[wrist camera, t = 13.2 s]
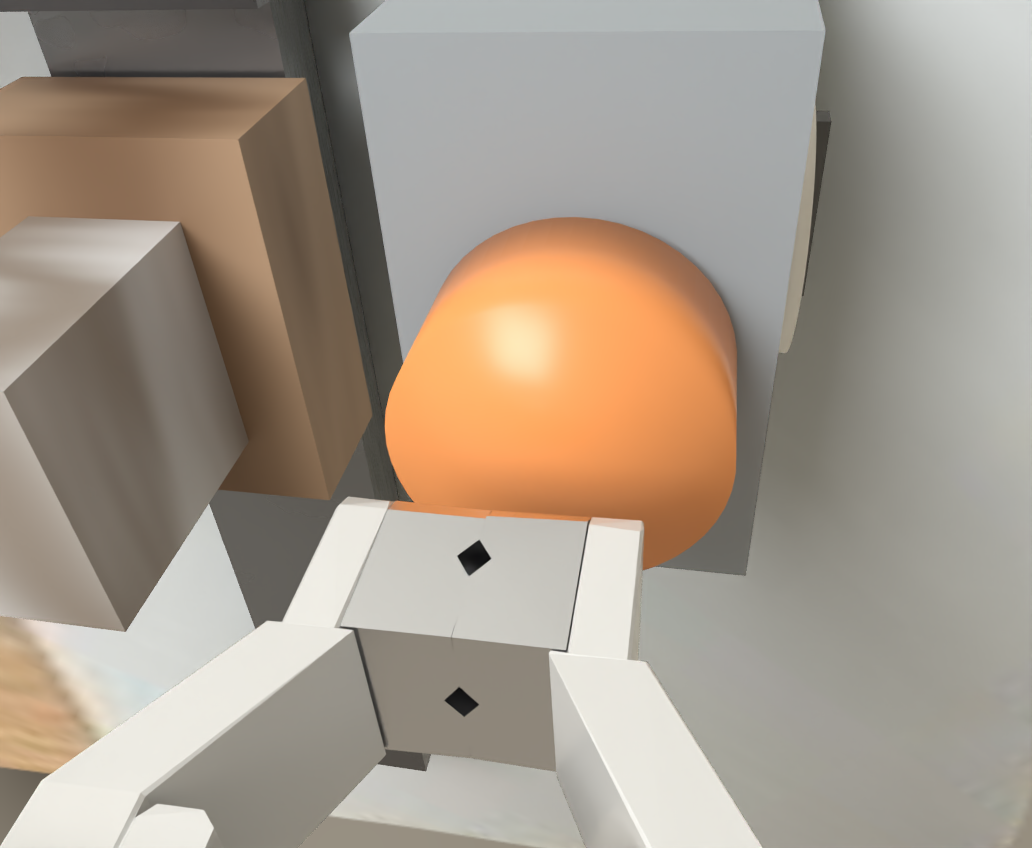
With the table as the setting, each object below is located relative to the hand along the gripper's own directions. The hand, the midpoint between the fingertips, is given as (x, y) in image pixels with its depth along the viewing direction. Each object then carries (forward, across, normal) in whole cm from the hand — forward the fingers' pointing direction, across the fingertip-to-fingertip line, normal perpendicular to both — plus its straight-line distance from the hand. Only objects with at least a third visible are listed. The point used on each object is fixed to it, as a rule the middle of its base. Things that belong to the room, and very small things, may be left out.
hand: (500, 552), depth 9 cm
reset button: (+4, 0, 0) cm, 4 cm away
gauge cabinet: (+12, 0, 0) cm, 12 cm away
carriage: (+10, +9, +3) cm, 13 cm away
